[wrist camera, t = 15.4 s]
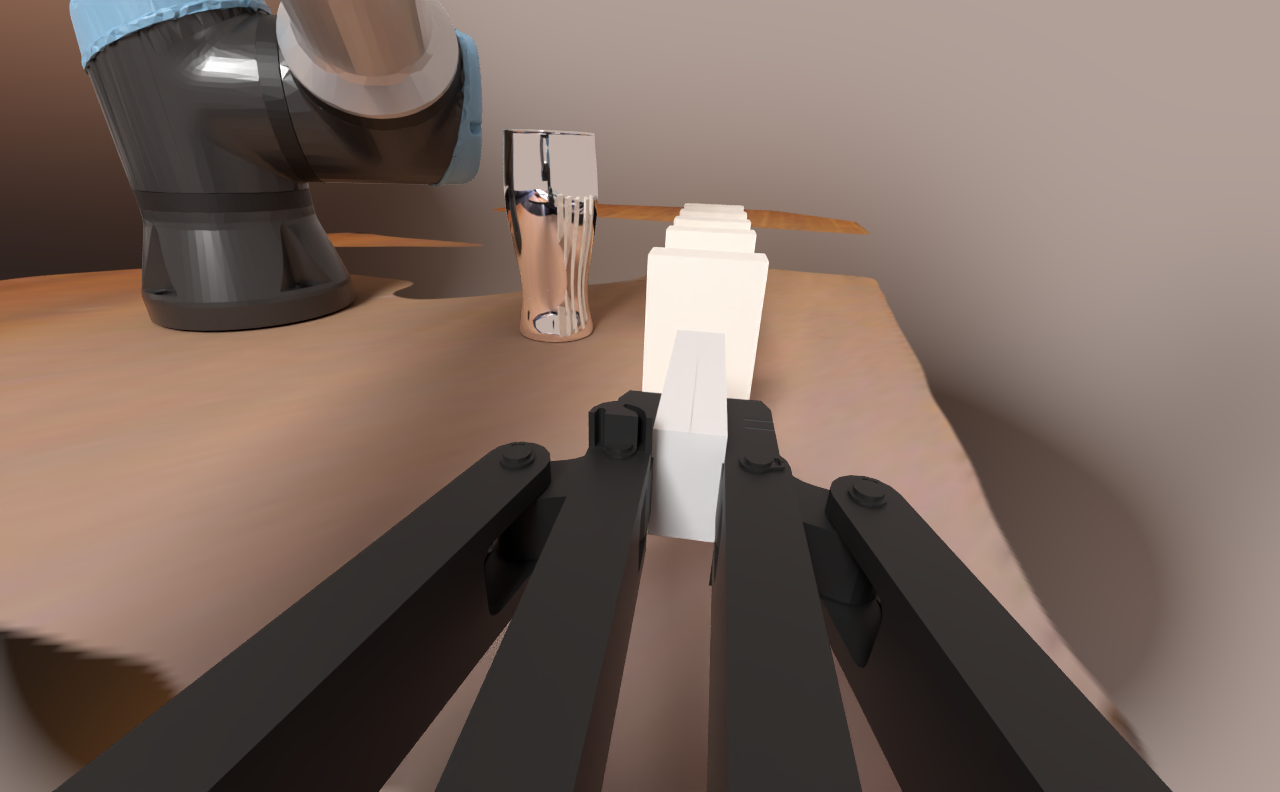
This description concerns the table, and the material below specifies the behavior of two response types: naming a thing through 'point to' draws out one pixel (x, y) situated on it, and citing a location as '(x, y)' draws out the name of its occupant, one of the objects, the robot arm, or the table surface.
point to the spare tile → (704, 309)
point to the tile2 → (710, 239)
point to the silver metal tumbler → (552, 227)
